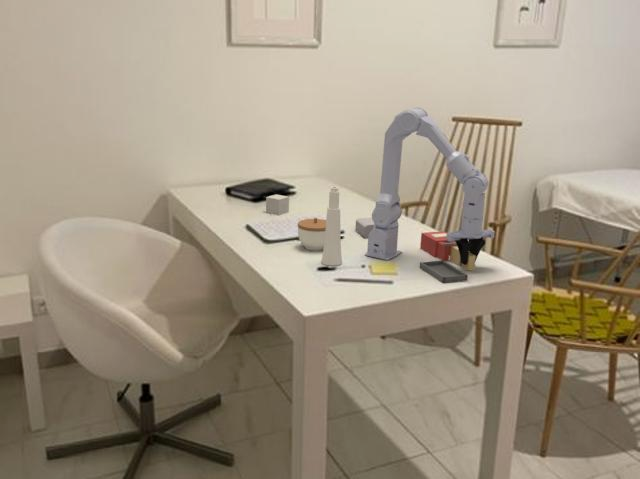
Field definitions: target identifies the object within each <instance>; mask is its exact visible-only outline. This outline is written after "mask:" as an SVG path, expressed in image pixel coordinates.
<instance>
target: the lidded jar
mask: <svg viewBox="0 0 640 479" xmlns="http://www.w3.org/2000/svg"><path fill="white" fill-rule="evenodd" d="M325 230H326V219H323V218H322V219H320V218H318V217H314V218H307V219H306V218H305V219H301V220H300V221H298V222H297V232H298V234H297V235H298V239H299V241H300V243H301V244H302V245H303V247H304V249H306V250H309V251H323V249H324V241H325Z"/></svg>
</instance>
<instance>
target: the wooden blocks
mask: <svg viewBox="0 0 640 479" xmlns="http://www.w3.org/2000/svg"><path fill="white" fill-rule="evenodd" d="M475 258H476V256H475V255H473V254H472V253H470V252H469V255H468V262H467V265H464V264H462V263H461V258H460V253H459V249H458V246H451V250H450V256H449V260H450V261H451V262H453V263H455V264H456V265H458V266H459V267H462V268H463V269H465V270H467V271H474V270H475V269H476V268H475V266H476V262H475Z"/></svg>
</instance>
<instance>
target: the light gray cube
mask: <svg viewBox="0 0 640 479" xmlns="http://www.w3.org/2000/svg"><path fill="white" fill-rule="evenodd" d="M265 199H266V200H265V213H266V214H269V215H274V216H275V215H276V216H281V215H285V214H287V213H289V212H290V203H289V202H290V197H289V196H286V195H281V194H272V195H269V196H266V197H265Z"/></svg>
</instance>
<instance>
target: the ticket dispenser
mask: <svg viewBox="0 0 640 479" xmlns="http://www.w3.org/2000/svg"><path fill="white" fill-rule="evenodd" d="M447 233H448V232H447V231H444V230H442V231H428V232H421V233H420V234H421V236H420V249H421V250H423V251H424V252H426V253H428V254H429V255H431V256H433V257H434V258H438V259H439V260H444V261H445V262H447V261H449V260H450V250H451V246H457V244H456V242H455V240H454V241H451V242H450V241H448V240H446V236H447Z"/></svg>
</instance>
